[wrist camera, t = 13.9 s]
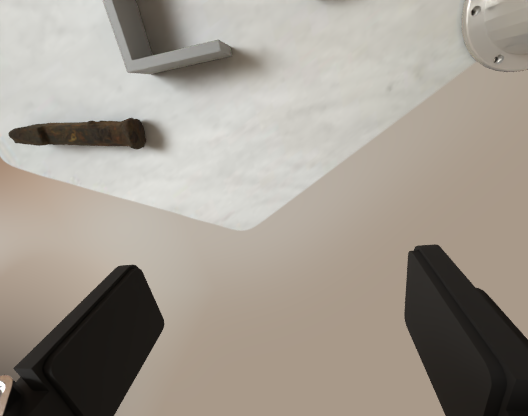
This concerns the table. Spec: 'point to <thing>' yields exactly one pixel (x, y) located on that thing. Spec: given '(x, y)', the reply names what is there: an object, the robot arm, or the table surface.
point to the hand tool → (83, 133)
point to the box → (138, 49)
